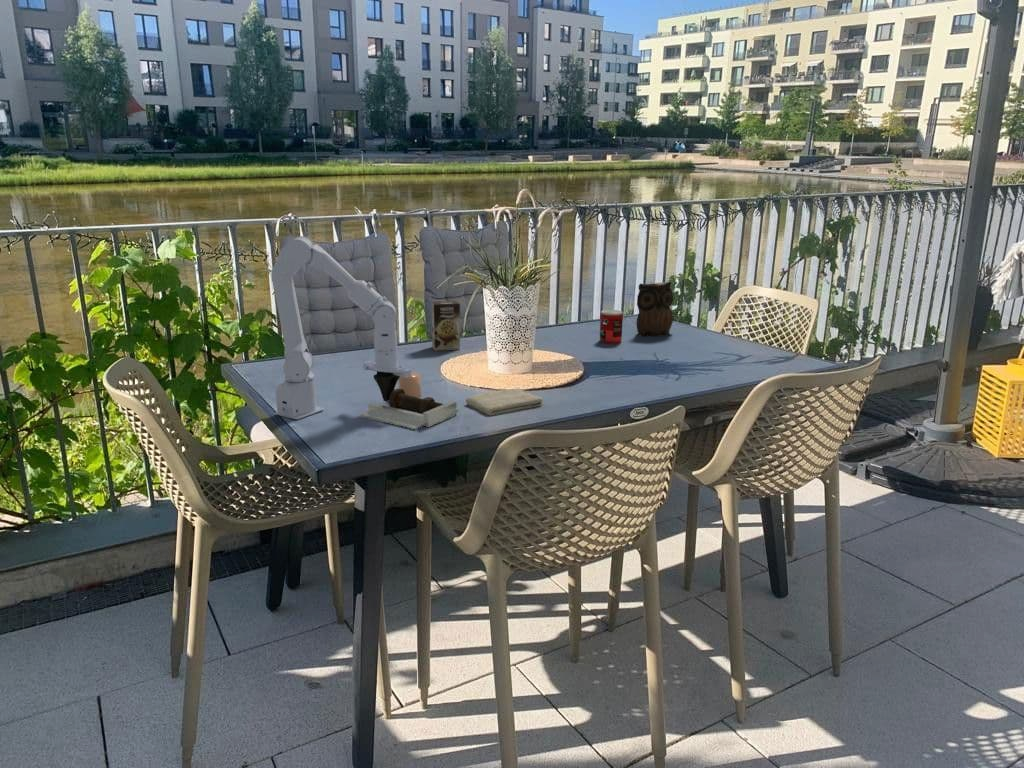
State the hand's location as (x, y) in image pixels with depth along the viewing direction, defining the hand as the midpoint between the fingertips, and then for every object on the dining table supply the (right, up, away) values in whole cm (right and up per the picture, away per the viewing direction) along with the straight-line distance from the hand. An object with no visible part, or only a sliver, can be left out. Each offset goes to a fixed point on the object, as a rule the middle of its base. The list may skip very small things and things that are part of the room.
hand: (387, 400), depth 195 cm
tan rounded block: (+4, +1, +12) cm, 13 cm away
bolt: (+8, -3, -3) cm, 9 cm away
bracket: (+6, -3, -3) cm, 8 cm away
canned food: (+68, +20, +79) cm, 106 cm away
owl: (+86, +24, +93) cm, 129 cm away
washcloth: (+31, -2, +5) cm, 31 cm away
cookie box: (+9, +16, +67) cm, 69 cm away
